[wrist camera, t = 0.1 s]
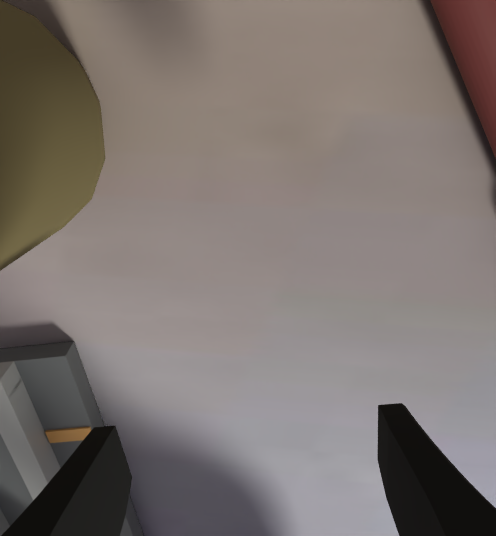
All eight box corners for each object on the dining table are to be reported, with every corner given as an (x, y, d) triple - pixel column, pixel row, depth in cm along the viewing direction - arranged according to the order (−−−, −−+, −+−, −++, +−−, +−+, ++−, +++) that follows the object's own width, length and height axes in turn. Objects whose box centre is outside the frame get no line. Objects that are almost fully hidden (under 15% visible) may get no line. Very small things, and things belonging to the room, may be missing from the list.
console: (152, 559, 32) (144, 601, 29) (-4, 570, 32) (-24, 611, 30) (73, 341, 24) (54, 374, 21) (-131, 362, 24) (-171, 396, 22)
